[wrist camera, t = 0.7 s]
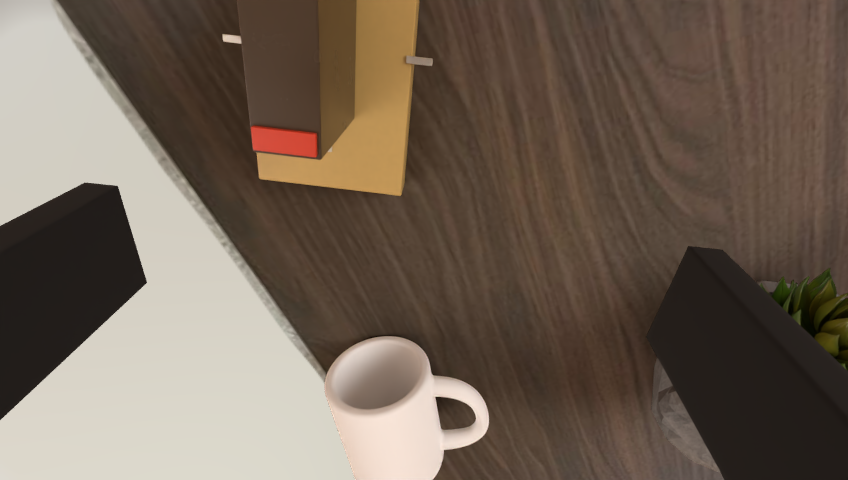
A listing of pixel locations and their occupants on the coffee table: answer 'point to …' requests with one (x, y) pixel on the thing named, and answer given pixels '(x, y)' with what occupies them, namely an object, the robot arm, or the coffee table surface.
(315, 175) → the plate
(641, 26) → the coffee table surface
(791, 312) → the potted plant
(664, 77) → the coffee table surface
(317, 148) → the lock turn
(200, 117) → the coffee table surface
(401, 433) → the mug
